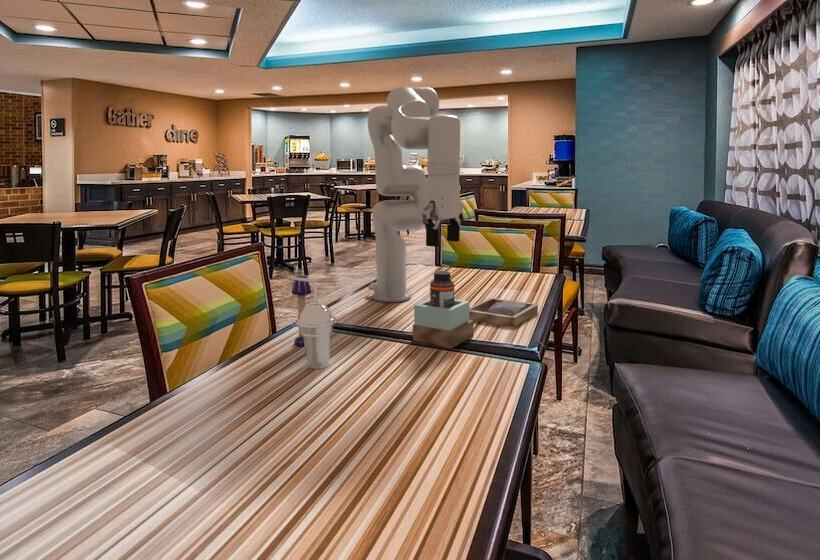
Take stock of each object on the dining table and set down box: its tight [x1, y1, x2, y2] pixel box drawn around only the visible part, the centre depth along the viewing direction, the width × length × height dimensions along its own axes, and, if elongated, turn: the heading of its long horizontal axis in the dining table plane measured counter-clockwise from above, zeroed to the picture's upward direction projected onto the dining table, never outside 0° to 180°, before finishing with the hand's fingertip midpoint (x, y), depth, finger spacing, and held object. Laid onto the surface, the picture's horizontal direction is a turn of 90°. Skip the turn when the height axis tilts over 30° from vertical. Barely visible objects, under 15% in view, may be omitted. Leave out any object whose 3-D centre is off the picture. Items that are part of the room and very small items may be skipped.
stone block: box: [486, 300, 528, 316], centre depth 156 cm, size 12×5×10 cm
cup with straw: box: [288, 276, 337, 370], centre depth 116 cm, size 8×9×20 cm
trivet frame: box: [469, 297, 539, 327], centre depth 156 cm, size 15×17×2 cm
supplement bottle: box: [429, 270, 455, 309], centre depth 133 cm, size 6×6×11 cm
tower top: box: [413, 298, 470, 331], centre depth 135 cm, size 10×10×5 cm
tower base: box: [412, 320, 475, 349], centre depth 136 cm, size 11×11×4 cm
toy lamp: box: [291, 275, 312, 347], centre depth 131 cm, size 5×5×17 cm
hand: (443, 243), depth 130 cm, fingers open, 9 cm apart
